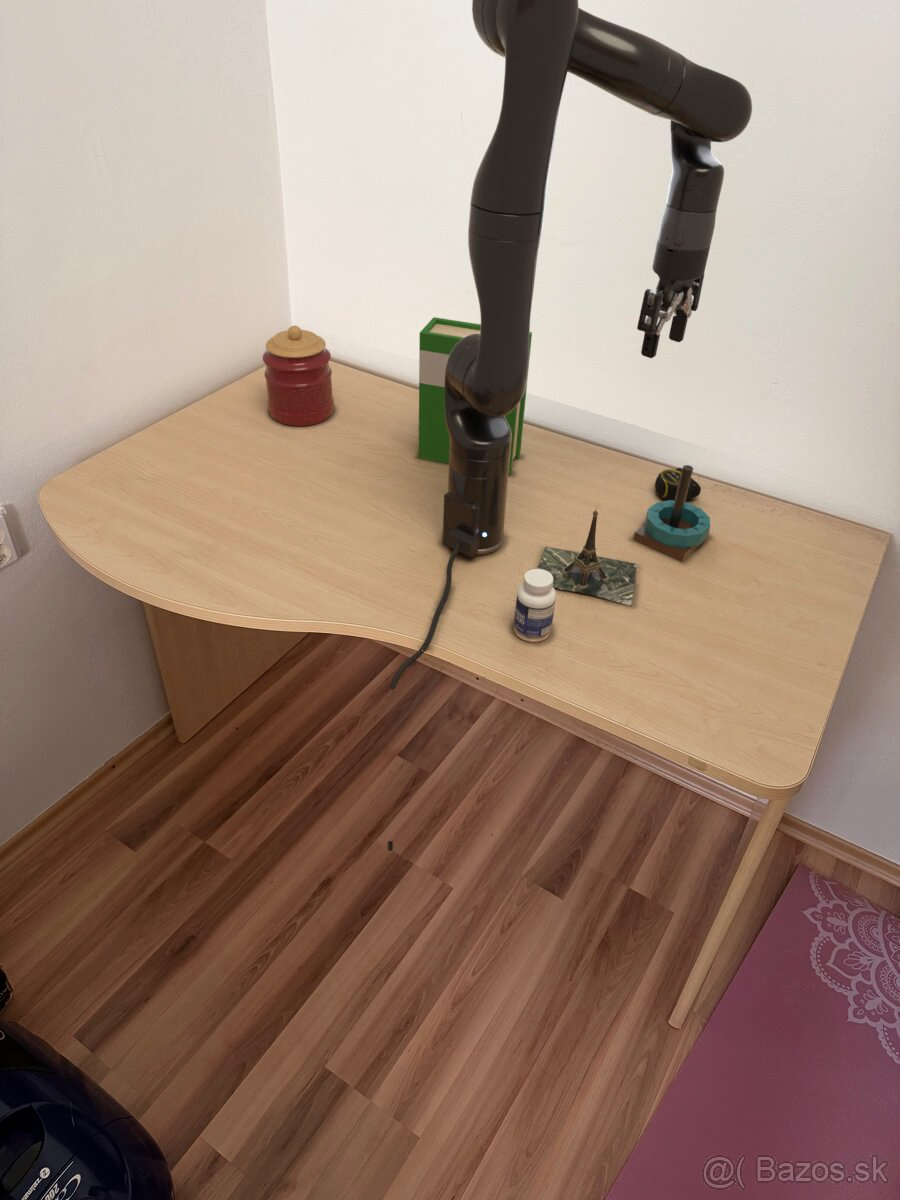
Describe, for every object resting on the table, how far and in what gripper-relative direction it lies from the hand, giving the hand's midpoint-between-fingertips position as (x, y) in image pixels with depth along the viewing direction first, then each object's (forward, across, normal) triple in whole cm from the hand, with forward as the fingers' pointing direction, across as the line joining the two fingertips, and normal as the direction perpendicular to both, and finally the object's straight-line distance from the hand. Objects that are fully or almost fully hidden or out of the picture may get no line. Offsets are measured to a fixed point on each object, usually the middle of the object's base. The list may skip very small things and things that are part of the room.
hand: (661, 348), depth 130 cm
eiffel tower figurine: (+28, +24, +7) cm, 38 cm away
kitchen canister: (+28, +19, -65) cm, 73 cm away
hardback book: (+28, +9, -30) cm, 41 cm away
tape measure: (+28, -6, +5) cm, 29 cm away
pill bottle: (+28, +40, +8) cm, 50 cm away
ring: (+26, +6, +12) cm, 29 cm away
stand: (+27, +6, +12) cm, 30 cm away
